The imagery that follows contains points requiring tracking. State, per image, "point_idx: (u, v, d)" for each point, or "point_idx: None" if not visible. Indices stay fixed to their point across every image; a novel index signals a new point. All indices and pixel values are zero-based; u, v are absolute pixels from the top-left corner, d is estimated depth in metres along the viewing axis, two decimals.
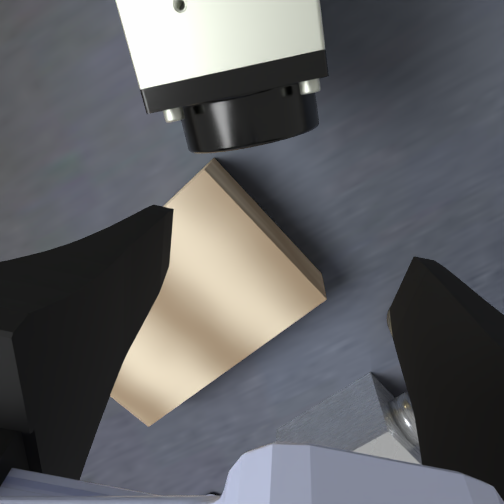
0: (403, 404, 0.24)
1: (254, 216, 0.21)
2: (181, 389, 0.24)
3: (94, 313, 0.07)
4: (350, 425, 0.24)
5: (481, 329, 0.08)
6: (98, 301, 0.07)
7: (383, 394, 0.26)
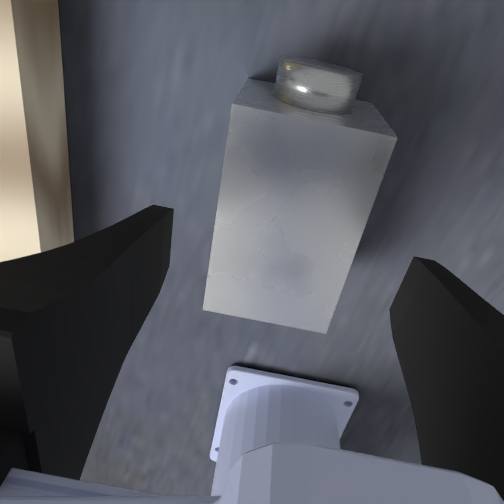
0: (278, 67, 0.14)
1: None
2: (22, 245, 0.18)
3: (94, 313, 0.07)
4: None
5: (481, 329, 0.08)
6: (98, 301, 0.07)
7: (270, 88, 0.15)
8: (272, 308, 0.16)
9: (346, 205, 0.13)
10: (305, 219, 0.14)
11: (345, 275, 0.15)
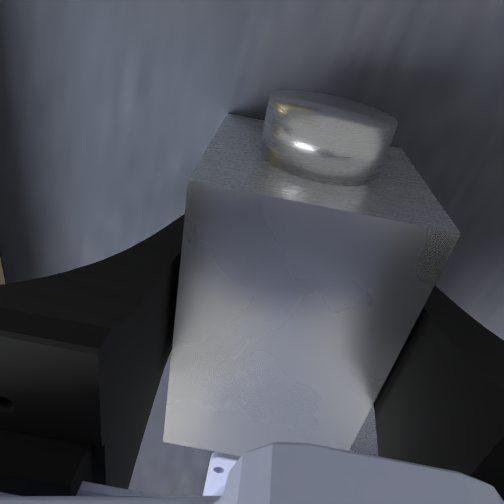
0: (266, 110, 0.09)
1: None
2: None
3: (150, 324, 0.07)
4: None
5: (431, 319, 0.08)
6: (153, 312, 0.07)
7: (257, 133, 0.10)
8: (260, 444, 0.11)
9: (371, 324, 0.09)
10: (307, 341, 0.09)
11: (366, 410, 0.10)
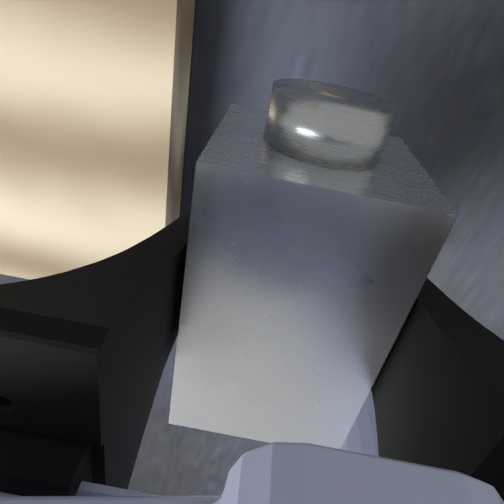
0: (271, 98, 0.09)
1: None
2: None
3: (149, 324, 0.07)
4: None
5: (431, 319, 0.08)
6: (152, 312, 0.07)
7: (261, 122, 0.11)
8: (263, 425, 0.12)
9: (371, 305, 0.09)
10: (310, 321, 0.09)
11: (367, 391, 0.10)
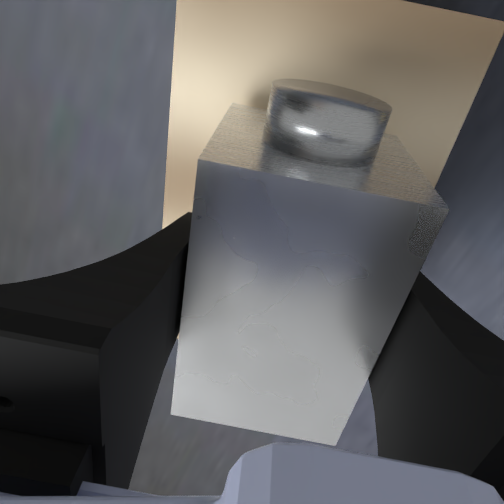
0: (269, 97, 0.09)
1: None
2: None
3: (150, 324, 0.07)
4: None
5: (431, 319, 0.08)
6: (153, 312, 0.07)
7: (260, 120, 0.11)
8: (263, 415, 0.12)
9: (367, 297, 0.09)
10: (307, 313, 0.10)
11: (363, 381, 0.11)
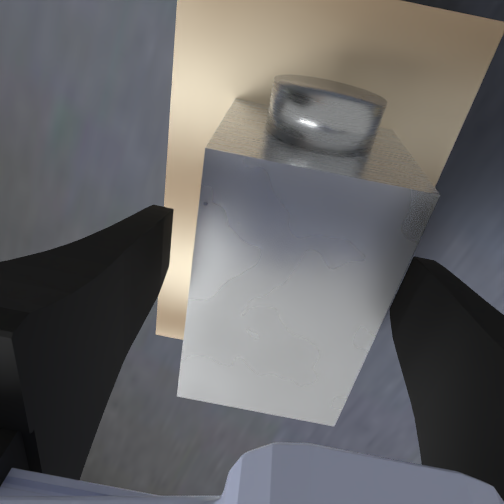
0: (272, 91, 0.10)
1: None
2: None
3: (94, 313, 0.07)
4: None
5: (481, 329, 0.08)
6: (98, 301, 0.07)
7: (263, 114, 0.12)
8: (265, 397, 0.12)
9: (363, 279, 0.10)
10: (307, 296, 0.10)
11: (361, 362, 0.11)
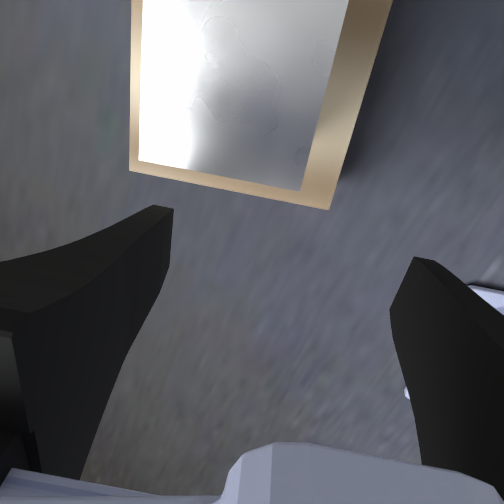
0: None
1: None
2: (335, 122, 0.16)
3: (94, 313, 0.07)
4: None
5: (481, 329, 0.08)
6: (98, 301, 0.07)
7: None
8: (228, 153, 0.12)
9: None
10: None
11: (322, 94, 0.11)
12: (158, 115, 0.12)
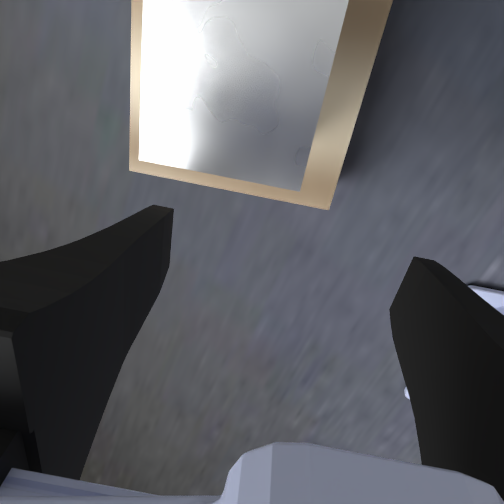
0: None
1: None
2: (335, 122, 0.16)
3: (94, 313, 0.07)
4: None
5: (481, 329, 0.08)
6: (98, 301, 0.07)
7: None
8: (228, 153, 0.12)
9: None
10: None
11: (322, 94, 0.11)
12: (158, 115, 0.12)
